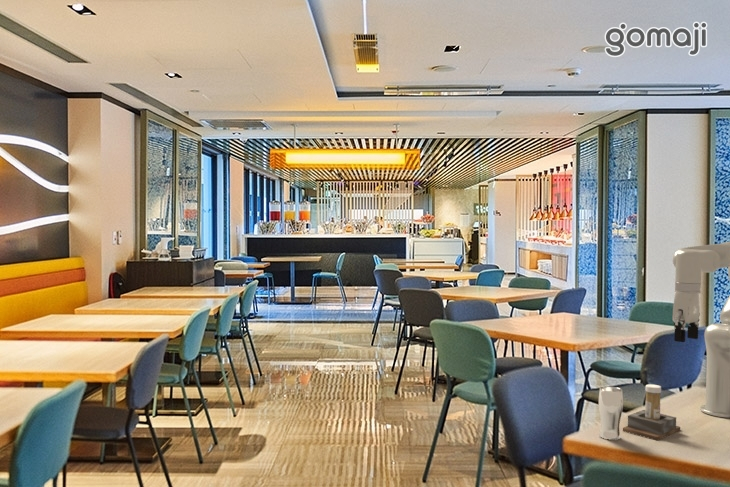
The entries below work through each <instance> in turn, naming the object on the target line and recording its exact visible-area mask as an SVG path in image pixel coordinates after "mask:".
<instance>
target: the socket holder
mask: <svg viewBox="0 0 730 487" xmlns="http://www.w3.org/2000/svg"><path fill="white" fill-rule="evenodd" d="M680 430H681V426H680V425H679V426H678V425H677V417H676V416H672V415H668V414H663V413H660V420H659V421H655V420H651V419H647V418H645V409H641V410H639V411H636V412H632V413H631V414H629V415H627V426H624V427H622V432H625V431H626V432H625V433H629V432H630V433H629V434H632V433H634V434H633V435H636V434H637V435H636V436H640V435H641V436H640V437H643V436H645V437H644V438H647V437H649V438H648V439H651V438H653V439H652V440H654V439H656V440H655V441H659V440H661V439H663V438H665V436H666V437H667V435H668V436H670V435H672V434H675V433H677V432H679V431H680ZM674 432H675V433H674ZM660 438H661V439H660ZM658 439H659V440H658Z"/></svg>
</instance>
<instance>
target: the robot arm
mask: <svg viewBox="0 0 730 487" xmlns="http://www.w3.org/2000/svg"><path fill="white" fill-rule="evenodd" d="M672 264H673V266H674V268H675V280H674V281H675V284H674V286H675V287H674V292H675V295H674V299H673V305H672V306H673V307H672V321H673V325H674V327H673V329H674V337H673V340H674V342H679V343H685V342H686V332H687V338H688V339H692V340H698V339H699V326H700V323H699V322H700V315H701V311H700V309H701V308H700V294H702V293H701V292H702V273H707V274H708V273H709V274H710V273H715V272H716V271H717V270H719V269H725V268H728V270H727V272H728V280H729V281H730V240H729V241H725V242H721V243H713V244H705V245H696V246H695V245H694V246H688V247H684V248H678V250H676V252H675V253H674V254H673V258H672ZM719 321H720V323H718V322H717V323H716V322H715V323H712V324H709V325H707V326H706V328H705V330H704V343H705V351H706V370H705V371H706V373H705V374H706V378H705V404H702V405H701V406H700V408H699V409H700V411H701V412H703V413H704V414H706V415H710V416H714V417H720V418H728V419H730V294H729V296H728V298H727V299H726V301H725V303H724V305H723V307H722V309H721V310H720V313H719ZM687 324H688V325H687ZM686 325H687V329H686ZM686 330H687V331H686Z"/></svg>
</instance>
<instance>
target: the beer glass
mask: <svg viewBox="0 0 730 487" xmlns="http://www.w3.org/2000/svg"><path fill="white" fill-rule="evenodd" d="M623 395H624V394H623V389H622V388H620V387H615V386H610V385H609V386H607V385H606V386H604V385H603V386H600V387H599V393H598V410H599V419H600V430H599V434H598V435H599V437H600V438H601V437H602V438H601V439H603V438H604V440H607V439H609V440H608V441H619V440H620V439H621V432H620V422H621V417H622V414H623V408H624V405H623V404H624V397H623ZM618 439H619V440H618Z"/></svg>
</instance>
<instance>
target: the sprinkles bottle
mask: <svg viewBox="0 0 730 487" xmlns="http://www.w3.org/2000/svg"><path fill="white" fill-rule="evenodd" d="M661 393H662V386H661V385H657V384H646V385H645V404H644V405H645V406H644V408H645V409H644V410H645V418H647V419H651V420H655V421H659V420H660V414H661Z"/></svg>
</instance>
